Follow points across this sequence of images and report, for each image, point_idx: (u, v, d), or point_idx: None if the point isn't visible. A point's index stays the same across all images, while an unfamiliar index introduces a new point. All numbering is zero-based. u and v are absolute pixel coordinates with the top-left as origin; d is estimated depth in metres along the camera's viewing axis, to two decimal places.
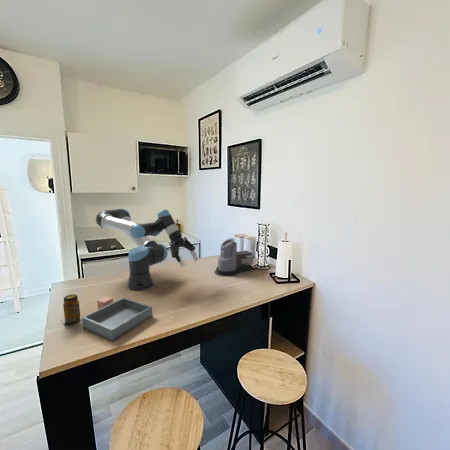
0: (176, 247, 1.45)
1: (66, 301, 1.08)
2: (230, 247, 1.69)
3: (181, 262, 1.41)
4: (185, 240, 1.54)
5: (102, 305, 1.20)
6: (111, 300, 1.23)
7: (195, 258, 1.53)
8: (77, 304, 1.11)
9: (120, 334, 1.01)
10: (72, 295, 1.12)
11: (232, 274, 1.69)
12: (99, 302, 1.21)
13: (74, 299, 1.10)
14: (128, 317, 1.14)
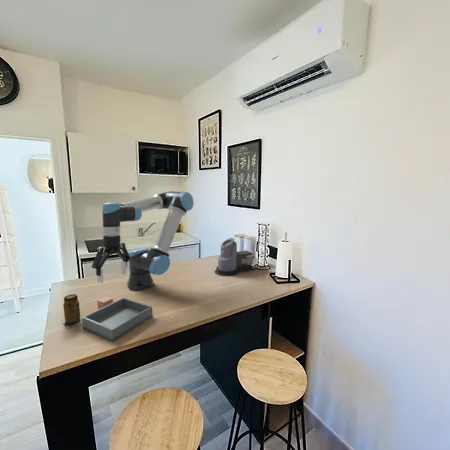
0: (104, 256, 1.14)
1: (66, 301, 1.08)
2: (230, 247, 1.69)
3: (100, 277, 1.13)
4: (122, 247, 1.23)
5: (102, 305, 1.20)
6: (111, 300, 1.23)
7: (123, 271, 1.26)
8: (77, 304, 1.11)
9: (120, 334, 1.01)
10: (72, 295, 1.12)
11: (232, 274, 1.69)
12: (99, 302, 1.21)
13: (74, 299, 1.10)
14: (128, 317, 1.14)
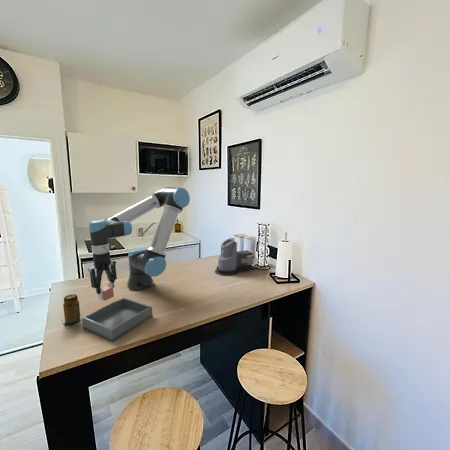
0: (98, 274, 1.18)
1: (66, 301, 1.08)
2: (230, 247, 1.70)
3: (100, 295, 1.20)
4: None
5: None
6: (111, 289, 1.23)
7: None
8: (77, 304, 1.11)
9: (120, 334, 1.01)
10: (72, 295, 1.12)
11: (232, 274, 1.70)
12: None
13: (74, 299, 1.10)
14: (128, 317, 1.14)
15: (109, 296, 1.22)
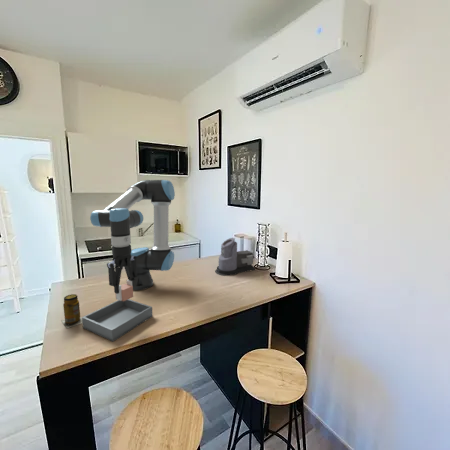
0: (117, 271, 1.02)
1: (66, 301, 1.08)
2: (230, 247, 1.70)
3: (118, 294, 1.04)
4: (132, 260, 1.09)
5: None
6: (131, 288, 1.07)
7: None
8: (77, 304, 1.11)
9: (120, 334, 1.01)
10: (72, 295, 1.12)
11: (232, 273, 1.70)
12: None
13: (74, 299, 1.10)
14: (128, 317, 1.14)
15: (128, 296, 1.06)
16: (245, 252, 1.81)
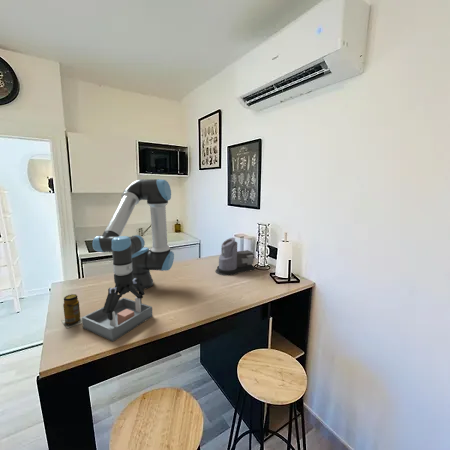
0: (116, 297, 1.03)
1: (66, 301, 1.08)
2: (230, 246, 1.70)
3: (112, 321, 1.02)
4: (135, 283, 1.11)
5: (123, 319, 1.06)
6: (132, 313, 1.09)
7: (137, 308, 1.14)
8: (77, 304, 1.11)
9: (120, 334, 1.01)
10: (72, 295, 1.12)
11: (232, 273, 1.70)
12: (119, 316, 1.07)
13: (74, 299, 1.10)
14: None
15: None
16: (245, 252, 1.81)
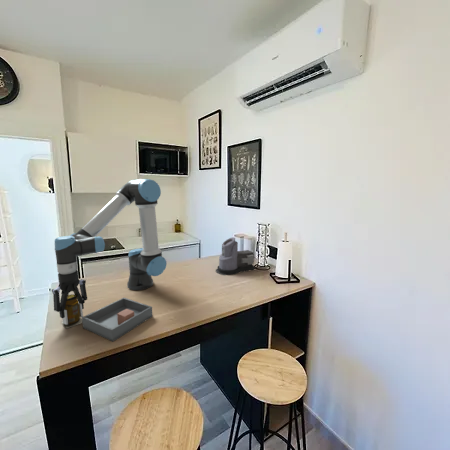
0: (63, 296, 1.07)
1: None
2: (231, 246, 1.71)
3: (64, 319, 1.08)
4: (81, 284, 1.13)
5: (123, 319, 1.06)
6: (132, 313, 1.09)
7: None
8: (76, 304, 1.11)
9: (120, 334, 1.01)
10: (71, 295, 1.11)
11: (232, 273, 1.71)
12: (119, 316, 1.07)
13: (73, 299, 1.09)
14: None
15: None
16: (246, 252, 1.81)
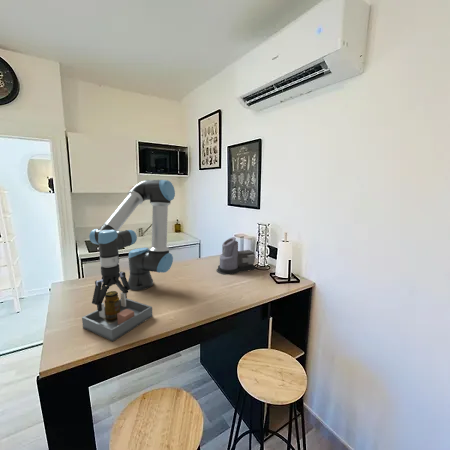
0: (103, 289, 1.07)
1: (108, 298, 1.09)
2: (231, 246, 1.72)
3: (101, 312, 1.07)
4: (122, 276, 1.15)
5: (123, 319, 1.06)
6: (132, 313, 1.09)
7: (122, 303, 1.17)
8: (118, 301, 1.12)
9: (120, 334, 1.01)
10: (112, 292, 1.13)
11: (232, 272, 1.72)
12: (119, 316, 1.07)
13: (115, 296, 1.11)
14: None
15: None
16: (246, 252, 1.82)
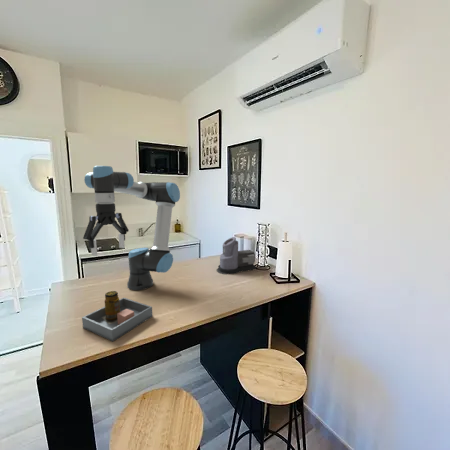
0: (97, 226, 1.02)
1: (108, 298, 1.09)
2: (231, 246, 1.72)
3: (93, 249, 1.01)
4: (118, 217, 1.10)
5: (123, 319, 1.06)
6: (132, 313, 1.09)
7: (121, 245, 1.13)
8: (118, 301, 1.12)
9: (120, 334, 1.01)
10: (112, 292, 1.13)
11: (232, 272, 1.72)
12: (119, 316, 1.07)
13: (115, 296, 1.11)
14: None
15: None
16: (247, 251, 1.82)
